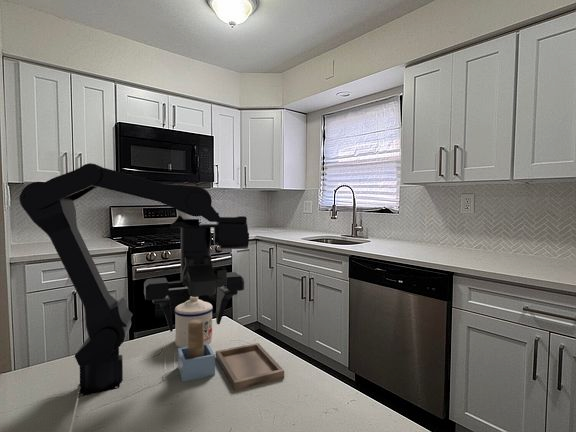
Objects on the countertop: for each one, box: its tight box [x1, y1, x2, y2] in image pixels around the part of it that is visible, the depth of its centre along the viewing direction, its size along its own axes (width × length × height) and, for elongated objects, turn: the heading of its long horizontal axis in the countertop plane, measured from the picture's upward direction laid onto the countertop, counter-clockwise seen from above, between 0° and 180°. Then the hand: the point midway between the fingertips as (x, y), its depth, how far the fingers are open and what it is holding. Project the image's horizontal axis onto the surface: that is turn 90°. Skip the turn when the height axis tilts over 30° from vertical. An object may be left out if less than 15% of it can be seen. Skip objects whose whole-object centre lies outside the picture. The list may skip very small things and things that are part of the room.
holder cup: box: [177, 343, 216, 383], centre depth 67 cm, size 6×6×4 cm
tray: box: [215, 342, 285, 391], centre depth 68 cm, size 10×14×2 cm
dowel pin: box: [188, 319, 204, 359], centre depth 66 cm, size 3×3×10 cm
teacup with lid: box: [173, 296, 214, 348], centre depth 82 cm, size 12×9×12 cm
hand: (195, 327), depth 66 cm, fingers open, 9 cm apart
